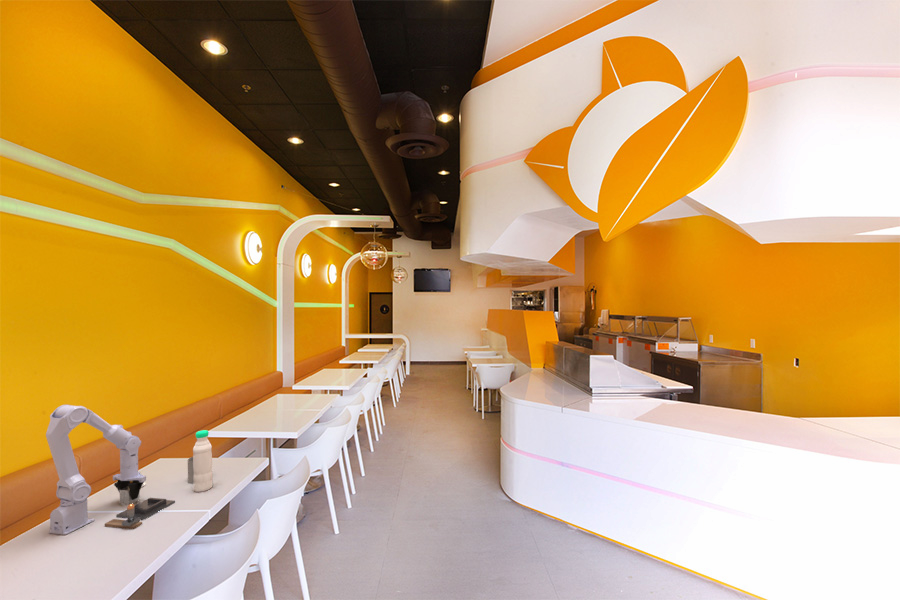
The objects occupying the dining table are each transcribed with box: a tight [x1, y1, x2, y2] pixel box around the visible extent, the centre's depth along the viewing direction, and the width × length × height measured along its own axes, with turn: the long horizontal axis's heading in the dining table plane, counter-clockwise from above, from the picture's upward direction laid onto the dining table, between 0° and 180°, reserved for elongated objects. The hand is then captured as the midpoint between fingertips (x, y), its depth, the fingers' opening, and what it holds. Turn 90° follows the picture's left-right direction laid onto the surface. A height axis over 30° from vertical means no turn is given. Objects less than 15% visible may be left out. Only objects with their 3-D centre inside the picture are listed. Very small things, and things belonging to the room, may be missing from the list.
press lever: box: [122, 503, 141, 526], centre depth 143 cm, size 4×4×7 cm
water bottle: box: [192, 429, 213, 493], centre depth 172 cm, size 7×7×25 cm
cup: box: [187, 456, 194, 485], centre depth 182 cm, size 8×8×10 cm
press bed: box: [115, 497, 176, 520], centre depth 155 cm, size 13×13×2 cm
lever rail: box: [104, 518, 143, 530], centre depth 144 cm, size 3×13×1 cm, turn 78°
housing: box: [119, 486, 141, 506], centre depth 162 cm, size 4×4×7 cm
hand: (129, 498), depth 162 cm, fingers closed on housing, 4 cm apart
